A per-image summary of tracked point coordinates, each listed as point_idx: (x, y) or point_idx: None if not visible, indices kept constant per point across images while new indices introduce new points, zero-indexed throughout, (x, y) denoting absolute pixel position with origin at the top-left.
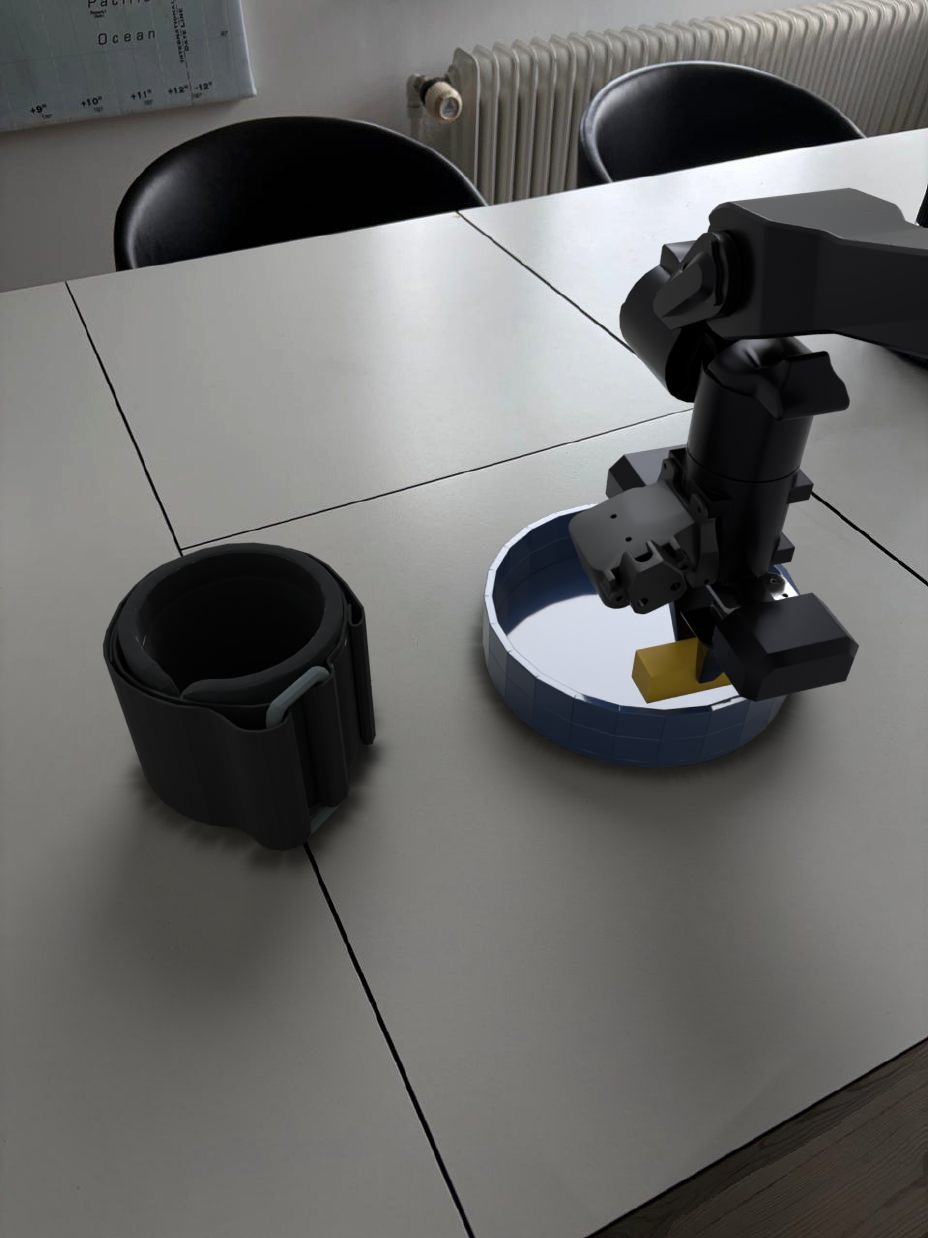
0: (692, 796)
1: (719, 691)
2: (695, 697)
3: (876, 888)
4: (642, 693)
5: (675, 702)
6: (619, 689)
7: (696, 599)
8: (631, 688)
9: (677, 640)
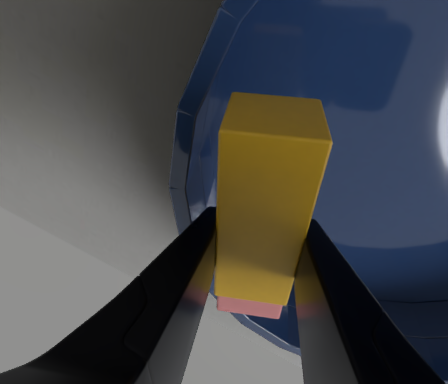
0: (151, 88)
1: None
2: None
3: (23, 194)
4: (256, 96)
5: None
6: (374, 85)
7: (323, 372)
8: (364, 105)
9: (310, 236)
